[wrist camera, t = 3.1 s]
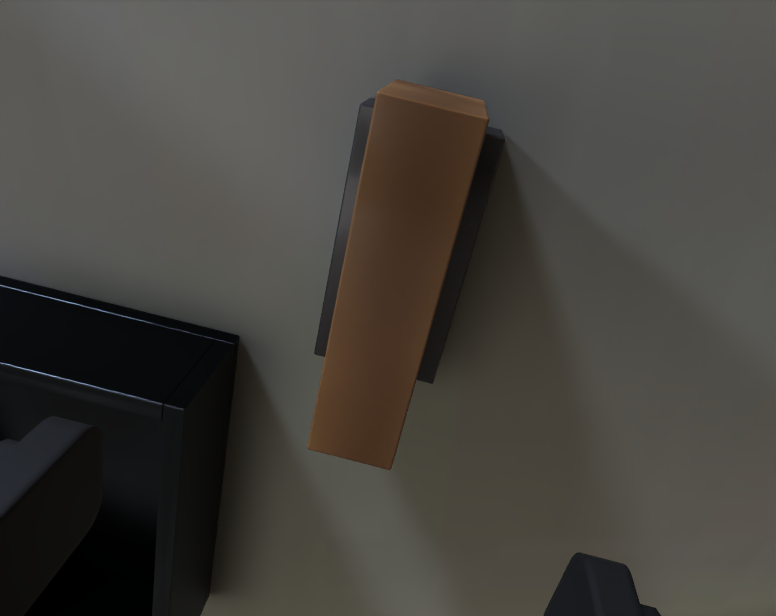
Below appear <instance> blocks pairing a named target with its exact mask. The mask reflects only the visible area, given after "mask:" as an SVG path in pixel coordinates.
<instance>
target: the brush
mask: <svg viewBox="0 0 776 616" xmlns="http://www.w3.org/2000/svg"><path fill="white" fill-rule="evenodd" d="M488 123H489V117H488V113H487V110H486V106H485V102H484V101H483V100H480V99H476V98H472V97H467V96H463V95H459V94H455V93H451V92H447V91H443V90H438V89H434V88H430V87H426V86H422V85H418V84H414V83H409V82H405V81H401V80H395V81H393V82H392V83H390V84H389V85H387V86H385V87H384V88H382V89H381V90H379V91H378V92H377V93H376V98H375V99H372V98H369V99H367V100H366V101H364V102H363V103H361V104H360V108H359V113H358V119H357V124H356V129H355V135H354V140H353V146H352V151H351V156H350V162H349V167H348V173H347V178H346V184H345V189H344V194H343V200H342V205H341V211H340V216H339V222H338V227H337V232H336V238H335V243H334V249H333V254H332V259H331V265H330V270H329V276H328V281H327V287H326V292H325V297H324V303H323V308H322V314H321V319H320V325H319V330H318V335H317V341H316V346H315V352H314V353H315V355H319V356H323V357H325V360H324V365H323V370H322V375H321V381H320V386H319V391H318V396H317V401H316V406H315V411H314V417H313V422H312V427H311V432H310V437H309V442H308V449H309V450H313V451H317V452H321V453H325V454H329V455H333V456H337V457H341V458H345V459H349V460H353V461H357V462H361V463H364V464H368V465H372V466H376V467H380V468H384V469H388V470H390V469H391V468H392V465H393V461H394V457H395V454H396V450H397V447H398V443H399V440H400V436H401V433H402V429H403V425H404V422H405V418H406V415H407V411H408V408H409V404H410V400H411V397H412V393H413V390H414V386H415V383H416V380H419V381H423V382H427V383H431V384H432V383H433V381H434V378H435V374H436V371H437V368H438V364H439V361H440V358H441V354H442V351H443V347H444V344H445V341H446V337H447V334H448V331H449V327H450V324H451V321H452V317H453V314H454V310H455V307H456V304H457V300H458V297H459V294H460V290H461V287H462V283H463V280H464V277H465V273H466V270H467V267H468V263H469V260H470V257H471V253H472V250H473V246H474V243H475V240H476V236H477V233H478V230H479V226H480V223H481V219H482V216H483V213H484V209H485V206H486V203H487V199H488V196H489V193H490V189H491V186H492V182H493V179H494V176H495V172H496V169H497V166H498V162H499V159H500V155H501V152H502V149H503V145H504V142H505V138H504V135H503V132H502V130H500V129H496V128H492V127H488Z"/></svg>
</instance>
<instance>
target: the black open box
mask: <svg viewBox="0 0 776 616" xmlns="http://www.w3.org/2000/svg"><path fill="white" fill-rule="evenodd" d="M238 346H239V336H238V335H234V334H230V333H226V332H222V331H218V330H214V329H210V328H206V327H202V326H198V325H194V324H190V323H186V322H182V321H178V320H174V319H170V318H166V317H162V316H158V315H154V314H150V313H146V312H142V311H138V310H134V309H130V308H126V307H122V306H118V305H114V304H110V303H106V302H102V301H98V300H94V299H90V298H86V297H82V296H78V295H74V294H70V293H66V292H62V291H58V290H54V289H50V288H46V287H42V286H38V285H34V284H30V283H26V282H23V281H19V280H15V279H11V278H7V277H3V276H0V442H1V441H3V440H5V439H11V440H15V441H20V440H22V439H23V438H24V437H25V436H26V435H27V434H28V433H29V432H30V431H32V430H33V429H34V428H35V427H36V426H37V425H38V424H39V423H40V422H42V421H43V420H44V419H46V418H48V417H50V416H57V417H61V418H65V419H68V420H72V421H76V422H80V423H84V424H88V425H92V426H96V427H98V428H99V429H100V430H101V433H102V501H101V505H100V509H99V512H98V514H97V517H96V519H95V521H94V523H93V525H92V527H91V528H90V530H89V531H88V533H87V534H86V536H85V537H84V538H83V540H82V541H81V542H80V543H79V545H78V546H77V547H76V549H75V550H74V551H73V552H72V554H71V555H70V556H69V558H68V559H67V560H66V562H65V563H64V564H63V565H62V567H61V568H60V569H59V571H58V572H57V573H56V575H55V576H54V577H53V578H52V580H51V581H50V582H49V584H48V585H47V586H46V588H45V589H44V590H43V591H42V593H41V594H40V595H39V597H38V598H37V599H36V601H35V602H34V603H33V604H32V606H31V607H30V608H29V610H28V611H27V612H26V614H25V615H24V616H200V615H201V612H202V610H203V608H204V606H205V604H206V601H207V599H208V597H209V594H210V585H211V576H212V568H213V559H214V551H215V542H216V534H217V525H218V517H219V508H220V500H221V491H222V482H223V474H224V465H225V457H226V448H227V440H228V431H229V423H230V414H231V406H232V397H233V388H234V380H235V371H236V363H237V354H238Z"/></svg>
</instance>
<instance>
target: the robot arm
mask: <svg viewBox="0 0 776 616" xmlns="http://www.w3.org/2000/svg"><path fill="white" fill-rule="evenodd" d="M101 501H102V433H101V430H100V429H99V428H98V427H96V426H92V425H88V424H84V423H80V422H76V421H72V420H68V419H65V418H61V417H57V416H50V417H48V418H46V419H44V420H43V421H42V422H40V423H39V424H38V425H37V426H36V427H35V428H34V429H33V430H32V431H30V432H29V433H28V434H27V435H26V436H25V437H24V438H23V439H22V440H20V441H15V440H11V439H5V440H3V441H1V442H0V616H24V615H25V614H26V612H27V611H28V610H29V608H30V607H31V606H32V604H33V603H34V602H35V601H36V599H37V598H38V597H39V595H40V594H41V593H42V591H43V590H44V589H45V588H46V586H47V585H48V584H49V582H50V581H51V580H52V578H53V577H54V576H55V575H56V573H57V572H58V571H59V569H60V568H61V567H62V565H63V564H64V563H65V562H66V560H67V559H68V558H69V556H70V555H71V554H72V552H73V551H74V550H75V549H76V547H77V546H78V545H79V543H80V542H81V541H82V540H83V538H84V537H85V536H86V534H87V533H88V531H89V530H90V528H91V527H92V525H93V523H94V521H95V519H96V517H97V514H98V512H99V509H100V505H101ZM544 616H661V615H660V614H659V612H658V611H657V609H656V608H654V607H650V606H646V605H642V604H640V602H639V599H638V596H637V592H636V589H635V586H634V582H633V579H632V576H631V573H630V571H629V569H628V567H627V566H626V565H625V564H622V563H618V562H614V561H610V560H607V559H603V558H599V557H595V556H591V555H587V554H583V553H579V552H578V553H576V554H574V556H573V557H572V558H571V560H570V562H569V564H568V566H567V568H566V570H565V572H564V574H563V576H562V578H561V580H560V582H559V584H558V586H557V588H556V590H555V592H554V594H553V596H552V598H551V600H550V602H549V604H548V606H547V608H546V611H545V613H544Z"/></svg>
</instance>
